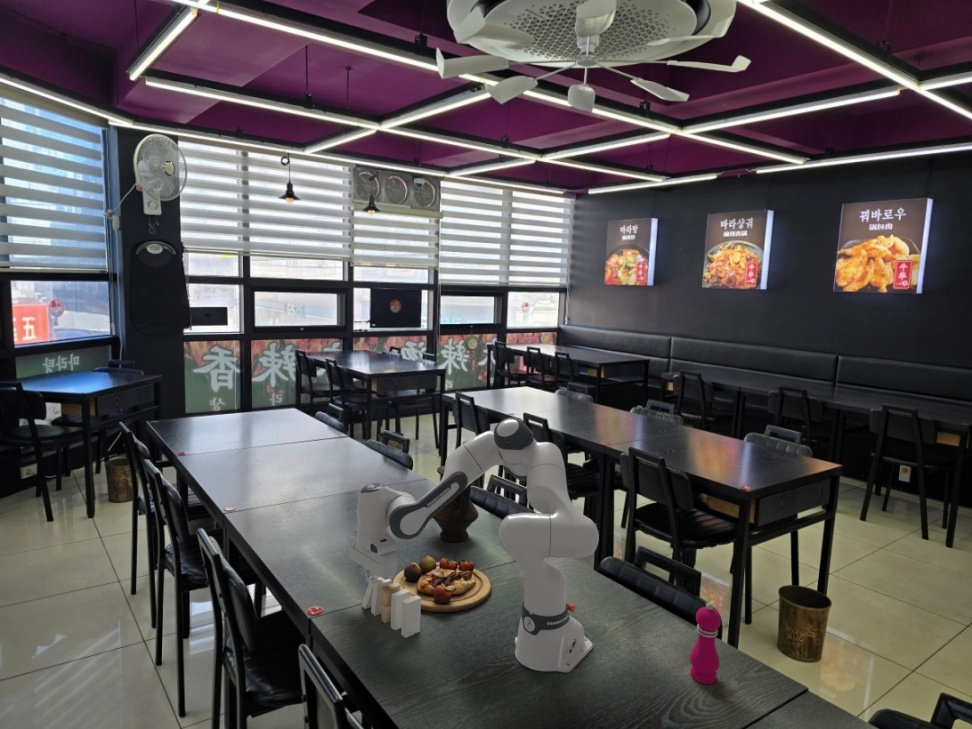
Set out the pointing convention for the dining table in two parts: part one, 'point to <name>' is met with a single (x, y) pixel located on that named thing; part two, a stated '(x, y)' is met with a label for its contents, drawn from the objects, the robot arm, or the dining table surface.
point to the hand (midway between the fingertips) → (371, 582)
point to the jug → (456, 515)
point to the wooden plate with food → (444, 584)
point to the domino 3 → (388, 601)
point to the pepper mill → (705, 646)
